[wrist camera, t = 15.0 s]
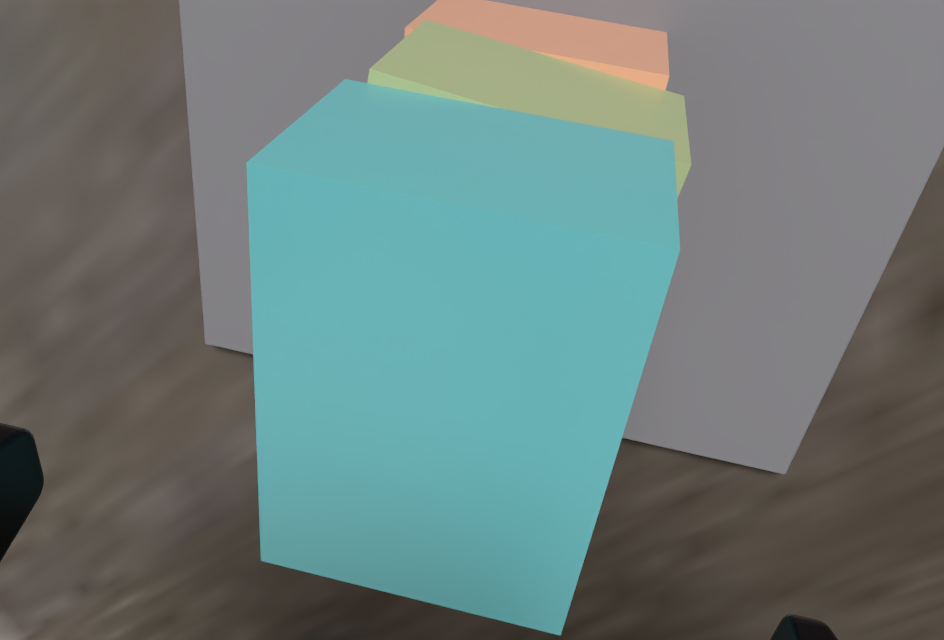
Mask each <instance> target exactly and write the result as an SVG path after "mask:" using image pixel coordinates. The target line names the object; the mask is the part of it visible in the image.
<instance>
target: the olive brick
mask: <svg viewBox="0 0 944 640" xmlns="http://www.w3.org/2000/svg"><path fill="white" fill-rule="evenodd" d="M367 83H369V84H374V85H380V86H385V87H390V88H396V89H401V90H406V91H412V92H417V93H422V94H427V95H433V96H438V97H443V98H449V99H454V100H459V101H465V102H470V103H475V104H480V105H486V106H491V107H496V108H502V109H507V110H512V111H518V112H523V113H528V114H534V115H539V116H544V117H549V118H555V119H560V120H565V121H571V122H576V123H581V124H587V125H592V126H597V127H602V128H608V129H613V130H618V131H624V132H629V133H634V134H640V135H645V136H650V137H655V138H661V139H666V140H671V141H674V153H675V170H676V186H677V198H678V196H679V193H680V191H681V189H682V186H683V184H684V182H685V179H686V177H687V174H688V172H689V170H690V167H691V156H690V147H689V137H688V128H687V118H686V109H685V100H684V96H683V95H680V94H676V93H673V92H670V91H666V90H663V89H659V88H656V87H653V86H649V85H646V84H642V83H639V82H636V81H632V80H629V79H626V78H622V77H619V76H615V75H612V74H609V73H605V72H602V71H599V70H595V69H592V68H588V67H585V66H582V65H578V64H575V63H572V62H568V61H565V60H561V59H558V58H555V57H551V56H548V55H545V54H541V53H538V52H534V51H531V50H528V49H524V48H521V47H518V46H514V45H511V44H508V43H504V42H501V41H497V40H494V39H491V38H487V37H484V36H481V35H477V34H474V33H470V32H467V31H464V30H460V29H457V28H454V27H450V26H447V25H443V24H440V23H437V22H433V21H430V20H427V19H425V20H424V21H423V22H422V23H421V24H420V25H419V26H417V27H416V28H415V29H414V30H413V31H412V32H411V33H410V34H408V35H407V36H406V37H405V38H404V39H403V40H402V41H400V42H399V43H398V44H397V45H396V46H395V47H394V48H393V49H391V50H390V51H389V52H388V53H387V54H386V55H385V56H383V57H382V58H381V59H380V60H379V61H378V62H377V63H376V64H374V65H373V66H372V67H371V68H370V69H369V75H368V82H367Z"/></svg>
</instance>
